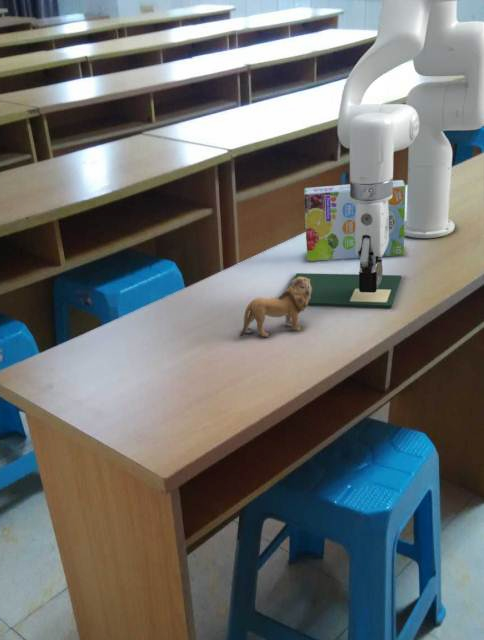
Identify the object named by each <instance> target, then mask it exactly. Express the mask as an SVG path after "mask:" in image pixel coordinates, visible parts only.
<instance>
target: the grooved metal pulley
mask: <svg viewBox="0 0 484 640" xmlns="http://www.w3.org/2000/svg"><path fill="white" fill-rule="evenodd" d="M369 262H371V261H369ZM371 263H372V262H371ZM383 269H384V268H383V262H382V263H381V262H377V261H376V265H375V271H377V288H378V287H379V285H380V283H381V280H382V275H384V273H383V271H384V270H383Z"/></svg>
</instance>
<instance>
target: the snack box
mask: <svg viewBox="0 0 484 640" xmlns="http://www.w3.org/2000/svg"><path fill="white" fill-rule="evenodd" d="M406 186H407V185H406V184H405V181H404V180H403V179H399V180H397V179H395V180H393V194H392V198H391V199H389V200H388V212H389V242H388V245H387V248H386V250H385V252H384V254H383V256H382V257H392V256H394V257H395V256H404V254H405V235H404V228H405V221H406V190H407V189H406ZM303 193H304V199H303V201H304V221H305V222H304V223H305V241H306V259H307V260H306V261H308V262H317V261H332V260H348V259H360V257H358V256H357V255H356V247H355V219H356V215H355V214H356V202H353V201H351V200H350V183H349V184H339V185H324V186H314V187H305V188H304V189H303Z"/></svg>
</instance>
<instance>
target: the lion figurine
mask: <svg viewBox="0 0 484 640" xmlns="http://www.w3.org/2000/svg"><path fill="white" fill-rule="evenodd" d="M290 283H291V284H292V285H291V286H290V287H289V288H288V287H287V288H288V289H287V288H286V289H287V290H286V289H285V291H284V292H283V293H282V294H281V295H280V296H276V297H272V298H265V297H256V298H254V299H253V300H251V301H250V302H249V303H248V304H247V306H246V307H245V311H244V316H243V325H242V326H243V327H242V330H241V332H240V334H239V335H238V337H239V338H242V337H243V336H244V335H245V334H246V333H247V334H249V333H252V330H253V329H252V328H249V326H250V324H251V323H253V322H254V321H255V322H256V330H257V332H258V333H259V334H260V335H261V337H263V338H268V337H270V336H269V335H270V333H269V332H267V331H265V330H264V329H263V326H264V322H265V319H266V316H268V317H270V318H275V319H276V318H277V319H278V318H282V317H285V325H286V326H287V327H291V328H292V329H293V331H296V332H299V331H301V326H299V325H298V322H299V314H300V313H301V312H304V311H305V310H306V309H307V307H308V306H309V305H308V302H309V300H310V298H311V293H312V286H311V284H310V279H307V278H306V277H297V278H296V279H294V280H293V279H292V280H291V282H290Z"/></svg>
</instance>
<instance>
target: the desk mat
mask: <svg viewBox="0 0 484 640" xmlns="http://www.w3.org/2000/svg"><path fill="white" fill-rule="evenodd" d="M297 277H306V278H307V279H310V284H311V286H312V293H311V298H310V300H309V302H308V305H307V306H315V307H317V306H318V307H319V306H320V307H347V308H348V307H349V308H373V309H392V306H393V304H394V301H395V298H396V295H397V292H398V289H399V286H400V282H401V280H402V275H400V274H399V275H397V274H396V275H395V274H391V275H390V274H388V275H387V274H382V280H381V283H380V285H379V287H378V288H377V290H376V292H375V293H370V292H360V291H359V274H353V273H352V274H351V273H350V274H349V273H345V274H344V273H304V272H301V273H300V272H299V273H298V272H297V273H296V274H295V275H294V277H293V278H292V280H294V279H296V278H297ZM291 285H292V284H291V282H290V283H289V284H288V286H287V288H286V289H285V291H286V290H287V289H288V288H289V287H290V286H291Z"/></svg>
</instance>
